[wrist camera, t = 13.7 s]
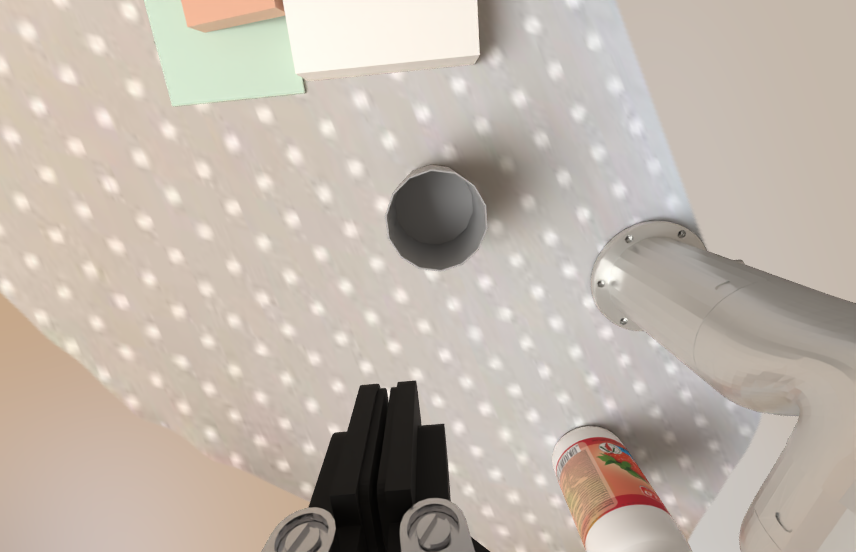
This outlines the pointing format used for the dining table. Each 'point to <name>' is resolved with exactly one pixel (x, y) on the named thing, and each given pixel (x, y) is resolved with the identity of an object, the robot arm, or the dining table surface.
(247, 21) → the tile
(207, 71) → the mat
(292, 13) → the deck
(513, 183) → the dining table surface
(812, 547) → the robot arm
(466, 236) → the cup
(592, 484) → the fruit juice
